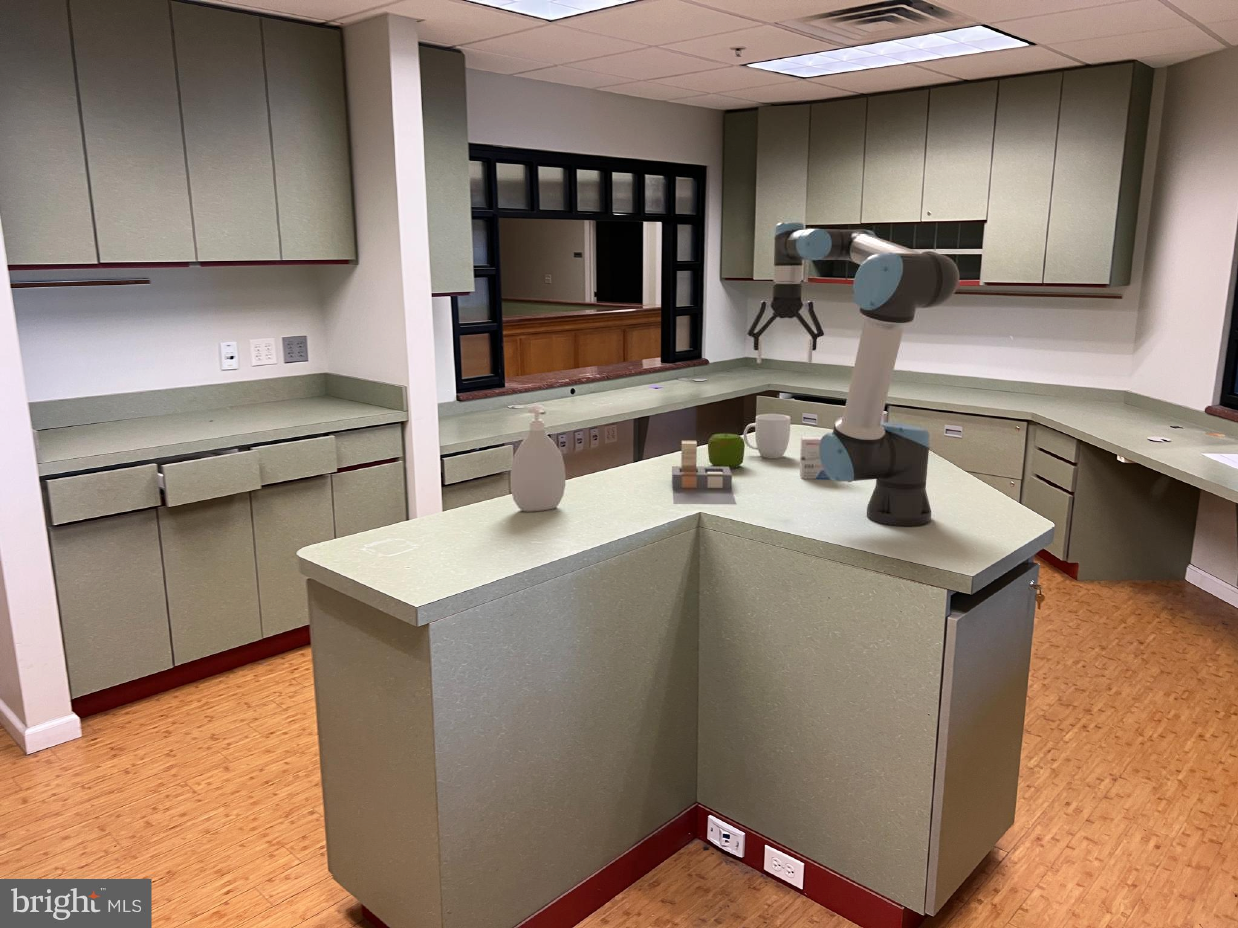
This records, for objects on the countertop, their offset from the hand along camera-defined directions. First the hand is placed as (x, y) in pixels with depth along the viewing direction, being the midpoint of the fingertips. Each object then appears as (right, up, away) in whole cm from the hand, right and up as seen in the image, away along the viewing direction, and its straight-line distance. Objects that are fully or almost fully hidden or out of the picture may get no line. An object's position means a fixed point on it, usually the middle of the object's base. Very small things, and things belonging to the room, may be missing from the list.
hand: (784, 362), depth 238 cm
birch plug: (-26, -33, +6) cm, 42 cm away
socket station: (-22, -36, -1) cm, 42 cm away
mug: (+4, -25, +47) cm, 53 cm away
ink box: (+12, -31, +19) cm, 39 cm away
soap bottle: (-65, -39, -15) cm, 77 cm away
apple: (-12, -28, +33) cm, 45 cm away
